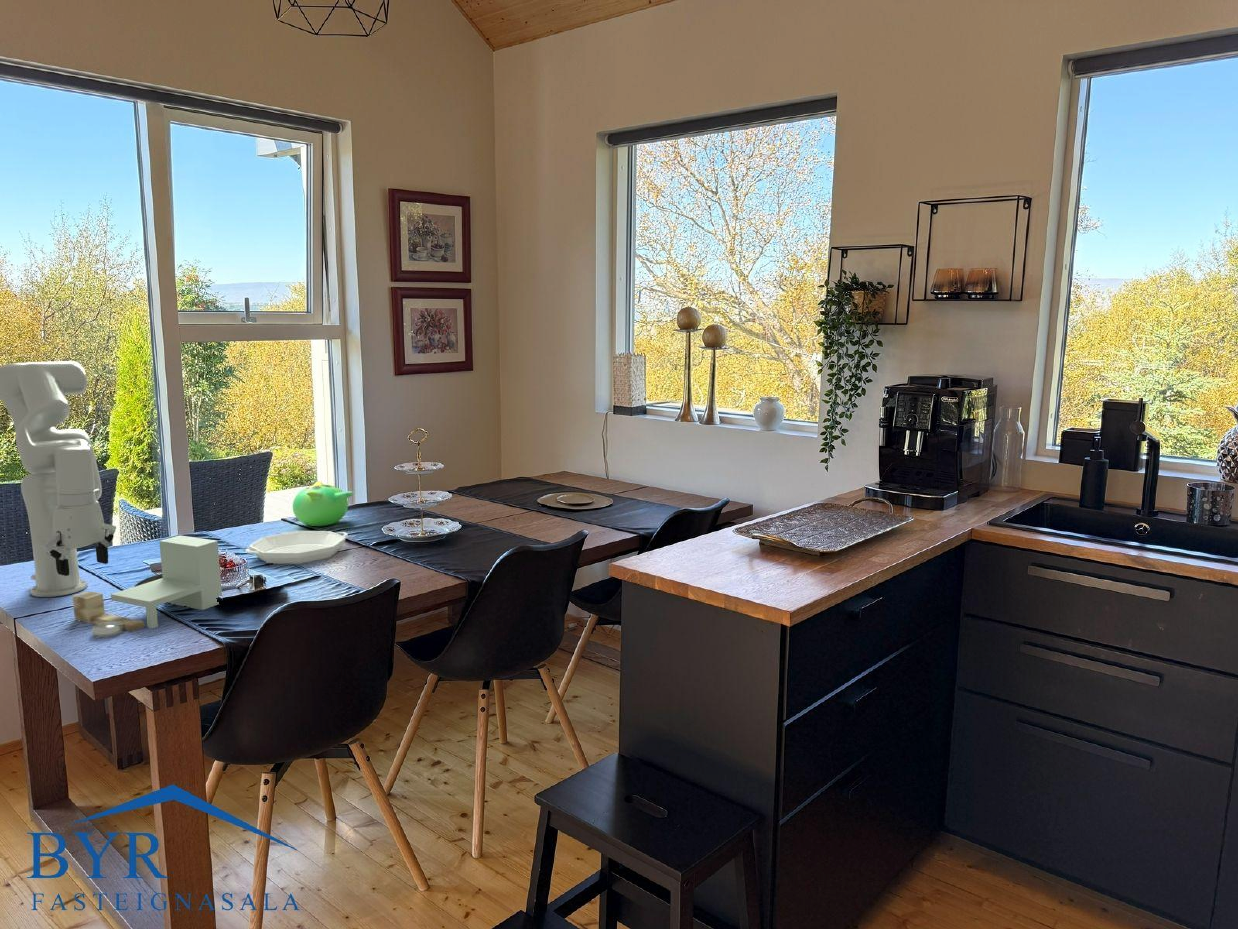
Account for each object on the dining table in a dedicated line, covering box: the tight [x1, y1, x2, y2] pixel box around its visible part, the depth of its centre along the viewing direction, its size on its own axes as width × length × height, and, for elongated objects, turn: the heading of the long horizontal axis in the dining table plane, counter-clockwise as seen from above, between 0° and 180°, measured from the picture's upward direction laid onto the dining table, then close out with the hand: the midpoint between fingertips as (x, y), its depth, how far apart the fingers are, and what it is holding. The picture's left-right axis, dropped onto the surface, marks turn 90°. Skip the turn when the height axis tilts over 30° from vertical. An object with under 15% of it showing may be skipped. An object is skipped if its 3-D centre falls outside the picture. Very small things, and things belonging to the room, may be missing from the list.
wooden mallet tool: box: [72, 590, 145, 632], centre depth 205 cm, size 19×4×6 cm, turn 66°
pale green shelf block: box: [110, 535, 223, 630], centre depth 213 cm, size 13×20×16 cm, turn 156°
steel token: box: [91, 621, 124, 639], centre depth 199 cm, size 6×6×2 cm
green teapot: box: [292, 480, 355, 527], centre depth 298 cm, size 18×17×15 cm
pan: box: [244, 530, 349, 565], centre depth 264 cm, size 31×26×4 cm
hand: (83, 568), depth 207 cm, fingers open, 9 cm apart
